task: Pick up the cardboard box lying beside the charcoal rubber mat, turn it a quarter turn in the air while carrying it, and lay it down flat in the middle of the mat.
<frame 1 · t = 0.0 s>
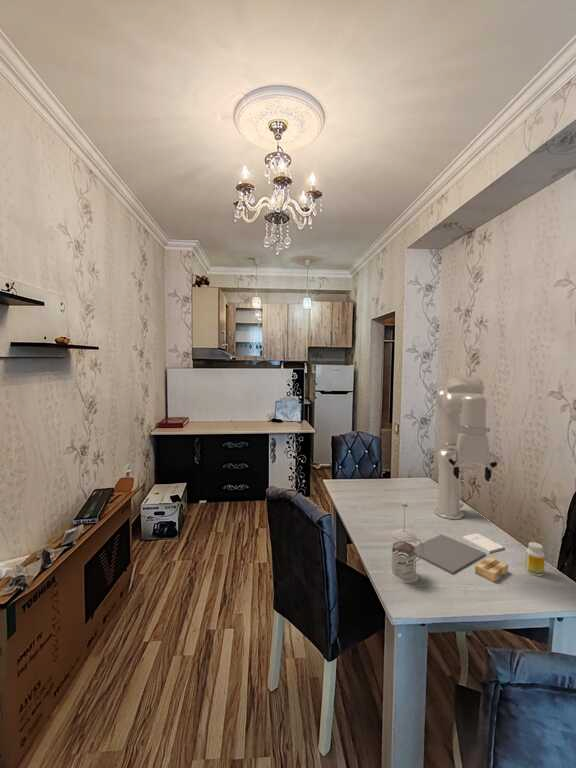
hand: (471, 478, 125), 31 cm above the table, tool pointing down, fingers open, 9 cm apart
supplement bottle: (534, 572, 123), on the table
external hard drive: (483, 545, 142), on the table
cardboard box: (491, 574, 122), on the table
french press: (405, 574, 121), on the table
rubber mat: (446, 553, 135), on the table
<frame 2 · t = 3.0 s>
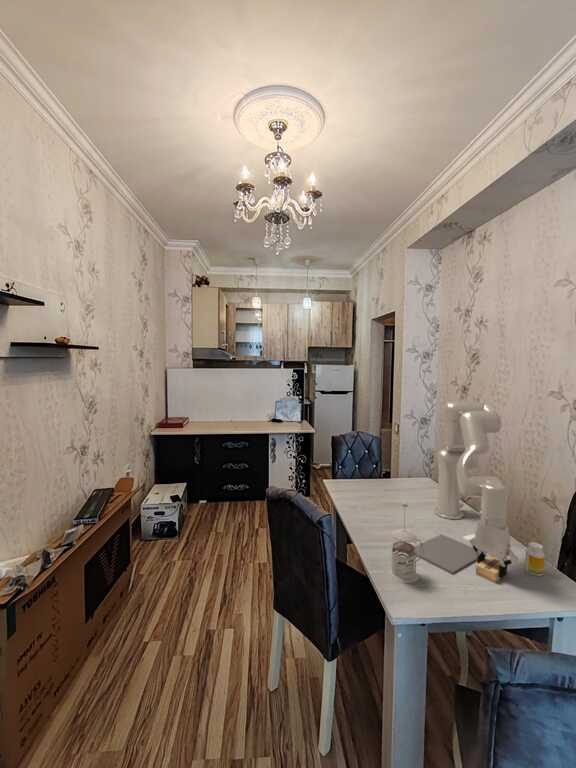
hand: (491, 570, 122), 1 cm above the table, tool pointing down, fingers closed on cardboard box, 6 cm apart
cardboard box: (491, 573, 122), on the table, touching gripper
everything else where it was.
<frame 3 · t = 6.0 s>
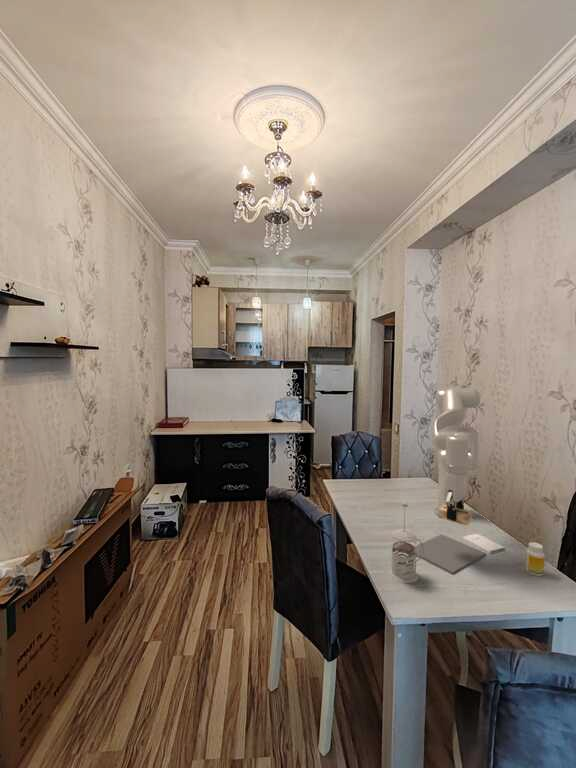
hand: (455, 516, 132), 15 cm above the table, tool pointing down, fingers closed on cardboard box, 6 cm apart
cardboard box: (455, 518, 132), point 14 cm above the table, touching gripper
everything else where it was.
when the fingers open (3 cm above the table, at t = 9.2 s): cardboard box drops 1 cm, resting on rubber mat.
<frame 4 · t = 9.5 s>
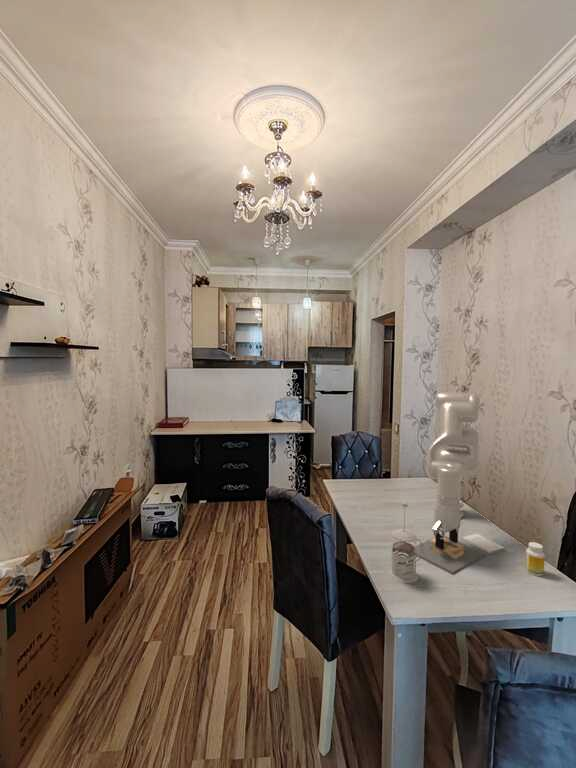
hand: (446, 544, 135), 3 cm above the table, tool pointing down, fingers open, 8 cm apart
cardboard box: (446, 551, 135), point 1 cm above the table, touching rubber mat
everything else where it was.
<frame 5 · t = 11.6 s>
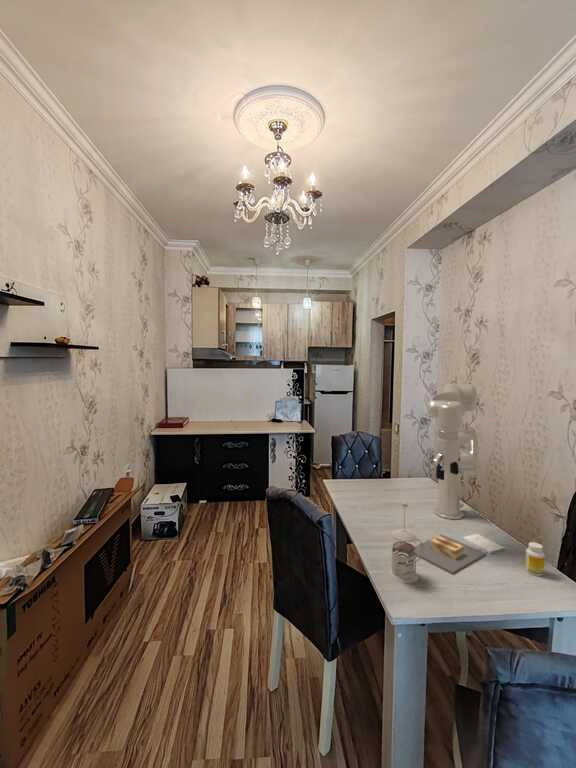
hand: (447, 476, 144), 26 cm above the table, tool pointing down, fingers open, 9 cm apart
nothing on the table moved.
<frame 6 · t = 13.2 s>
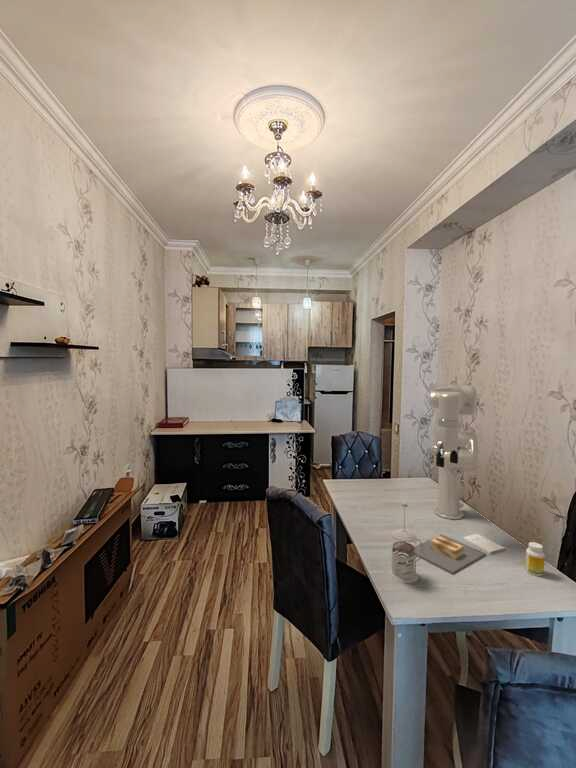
hand: (447, 464, 146), 30 cm above the table, tool pointing down, fingers open, 9 cm apart
nothing on the table moved.
at the end: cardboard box inside the target area on the rubber mat (0.1 cm from its centre), point 0.8 cm above the rubber mat's base; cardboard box tilted 0°; the gripper is holding nothing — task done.
